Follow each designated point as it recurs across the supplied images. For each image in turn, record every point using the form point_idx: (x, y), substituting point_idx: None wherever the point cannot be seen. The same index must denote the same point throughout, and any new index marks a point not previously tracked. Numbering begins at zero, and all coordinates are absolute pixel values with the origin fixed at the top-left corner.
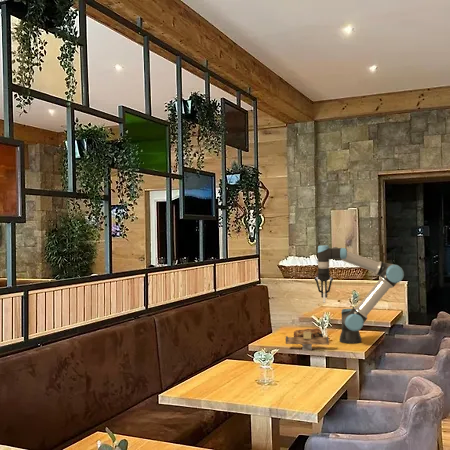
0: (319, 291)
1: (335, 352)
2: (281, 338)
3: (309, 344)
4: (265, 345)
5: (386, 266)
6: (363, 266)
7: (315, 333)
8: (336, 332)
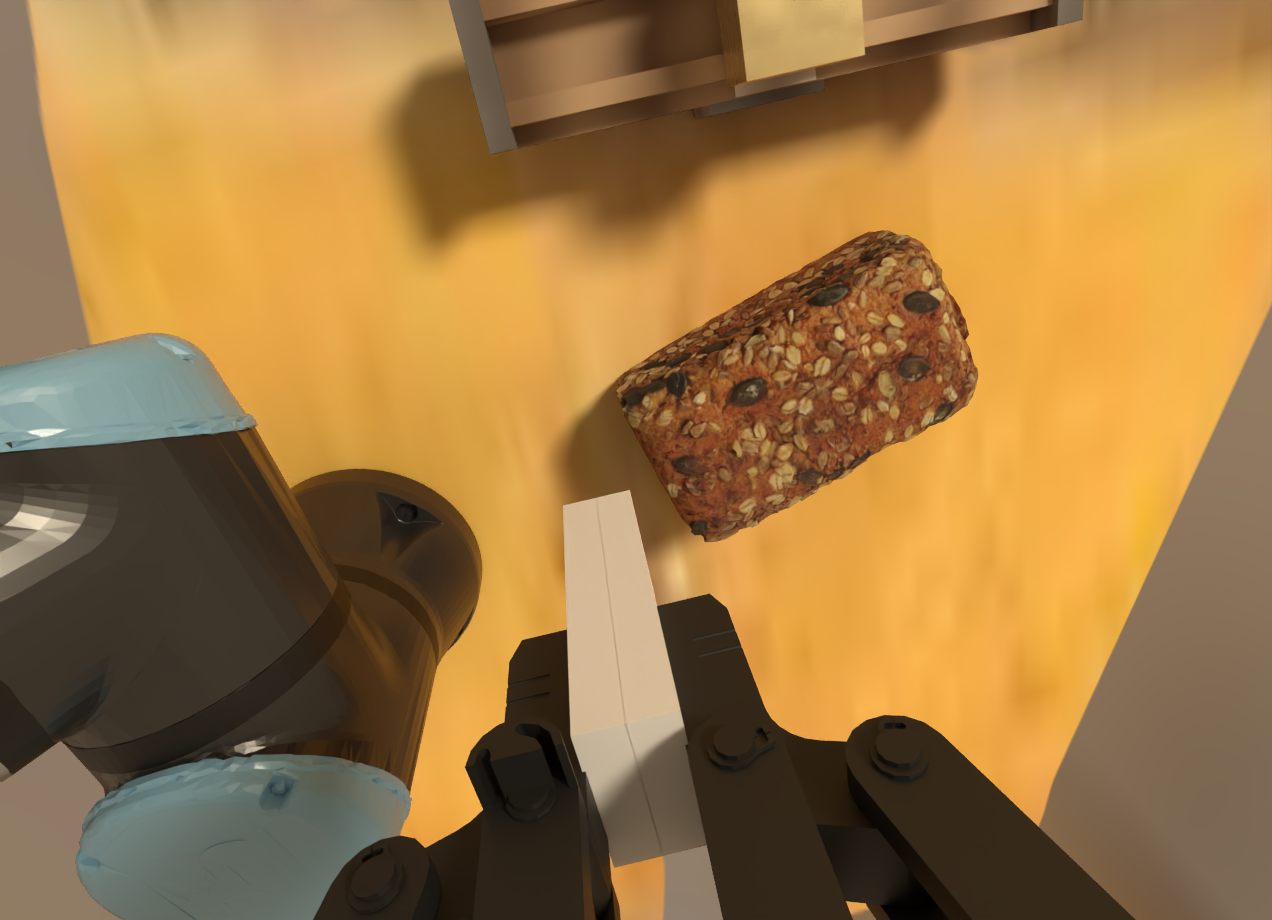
0: (894, 736)
1: None
2: (1044, 495)
3: None
4: (1219, 103)
5: None
6: None
7: (708, 362)
8: None
